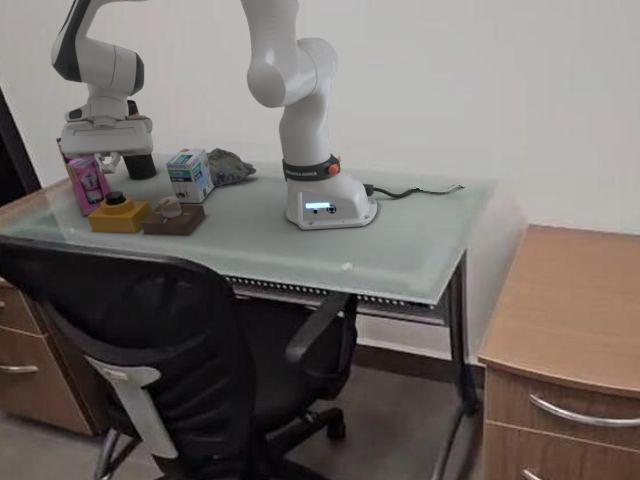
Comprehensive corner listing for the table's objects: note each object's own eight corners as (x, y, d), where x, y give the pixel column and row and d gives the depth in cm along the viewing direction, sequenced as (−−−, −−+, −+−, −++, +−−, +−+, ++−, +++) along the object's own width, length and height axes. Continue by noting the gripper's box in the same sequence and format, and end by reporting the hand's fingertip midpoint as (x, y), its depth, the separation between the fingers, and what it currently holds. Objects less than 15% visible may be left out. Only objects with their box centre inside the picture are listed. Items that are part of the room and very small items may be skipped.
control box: (153, 215, 153) (146, 193, 149) (135, 232, 145) (127, 210, 142) (112, 214, 154) (104, 192, 150) (93, 231, 147) (84, 208, 143)
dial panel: (205, 216, 151) (202, 204, 150) (188, 235, 143) (184, 223, 142) (163, 215, 153) (160, 203, 151) (144, 234, 145) (140, 222, 143)
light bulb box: (201, 203, 157) (190, 163, 151) (175, 203, 158) (164, 163, 151) (215, 186, 166) (206, 147, 159) (191, 186, 166) (181, 147, 160)
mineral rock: (259, 177, 170) (252, 142, 164) (240, 193, 162) (232, 157, 156) (218, 173, 173) (210, 138, 167) (197, 189, 165) (188, 153, 159)
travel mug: (162, 172, 175) (141, 101, 163) (140, 182, 170) (117, 110, 158) (145, 167, 178) (123, 98, 166) (123, 176, 173) (99, 105, 161)
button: (128, 199, 148) (125, 191, 147) (120, 206, 145) (117, 198, 143) (113, 198, 148) (110, 190, 147) (104, 205, 145) (101, 198, 144)
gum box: (118, 210, 156) (100, 159, 148) (84, 218, 152) (64, 167, 144) (103, 179, 172) (86, 131, 164) (73, 185, 169) (54, 137, 161)
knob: (167, 209, 148) (163, 195, 146) (184, 209, 148) (180, 195, 146) (159, 217, 145) (155, 203, 142) (177, 218, 144) (173, 203, 142)
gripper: (157, 121, 148) (157, 175, 146) (71, 126, 147) (71, 180, 145) (146, 108, 142) (146, 164, 140) (57, 113, 141) (56, 170, 139)
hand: (107, 172), depth 142 cm, fingers closed
